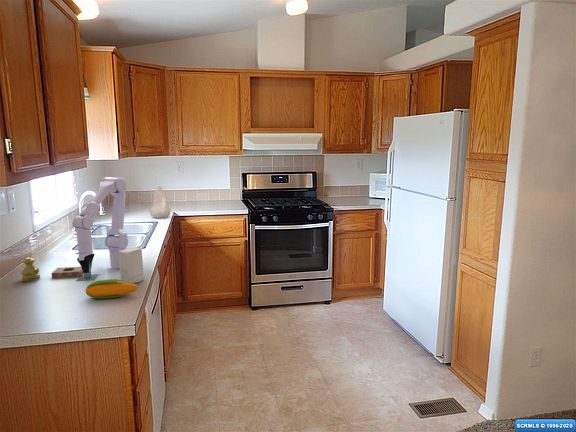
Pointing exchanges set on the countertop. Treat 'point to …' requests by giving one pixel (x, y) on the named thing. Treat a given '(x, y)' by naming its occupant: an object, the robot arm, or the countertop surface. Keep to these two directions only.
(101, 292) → the corn
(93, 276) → the mat
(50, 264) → the countertop surface
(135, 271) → the skincare box
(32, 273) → the olive yellow figurine
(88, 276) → the peg
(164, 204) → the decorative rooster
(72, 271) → the hole block
